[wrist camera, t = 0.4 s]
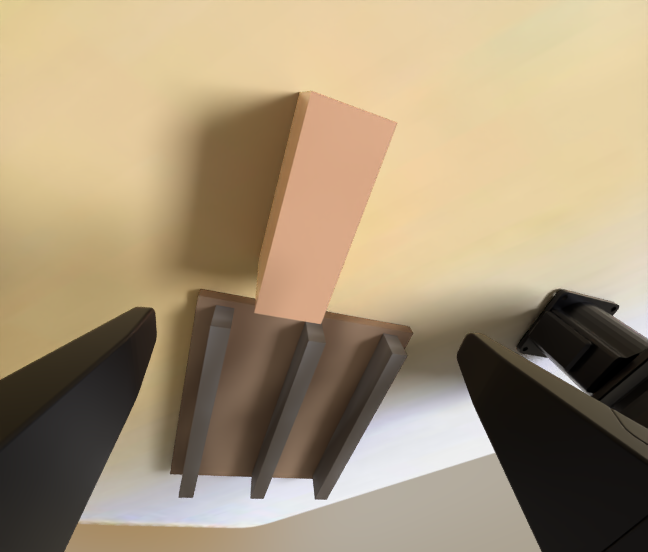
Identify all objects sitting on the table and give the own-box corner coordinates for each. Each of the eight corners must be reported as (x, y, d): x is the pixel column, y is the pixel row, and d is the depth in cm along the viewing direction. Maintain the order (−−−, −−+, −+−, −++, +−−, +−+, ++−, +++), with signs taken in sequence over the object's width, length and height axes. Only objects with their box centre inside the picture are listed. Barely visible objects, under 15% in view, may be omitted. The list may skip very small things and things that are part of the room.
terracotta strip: (360, 114, 18) (397, 122, 12) (309, 270, 22) (320, 324, 17) (299, 92, 17) (311, 90, 11) (258, 259, 21) (254, 312, 16)
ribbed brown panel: (409, 326, 25) (424, 352, 23) (331, 471, 34) (336, 502, 32) (200, 289, 21) (190, 315, 19) (172, 465, 30) (162, 500, 27)
